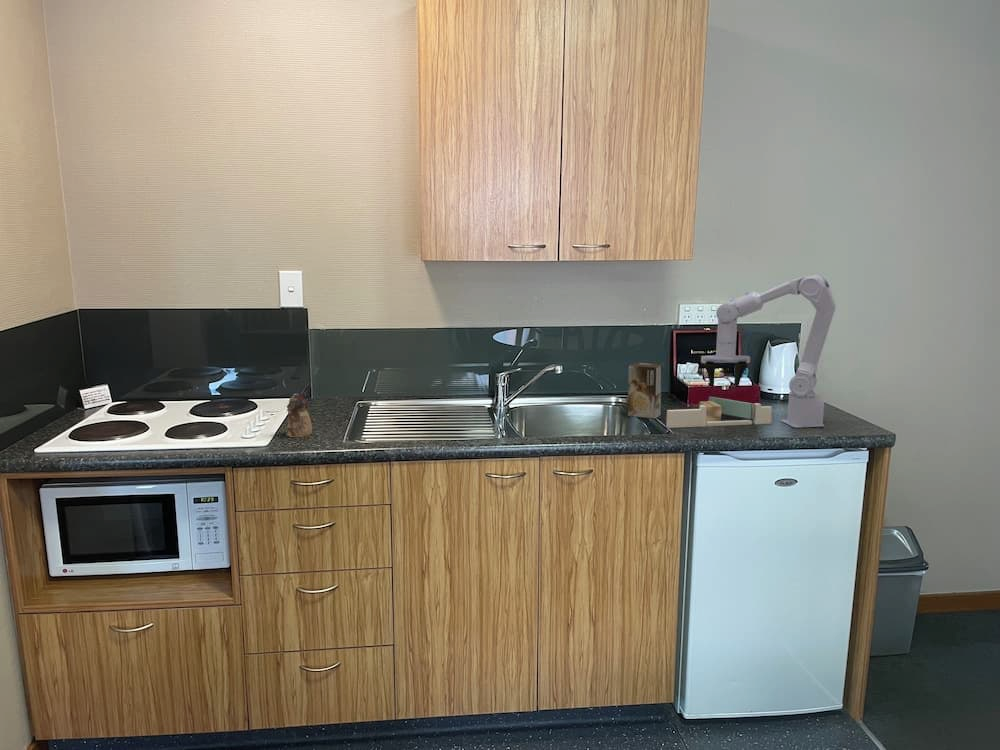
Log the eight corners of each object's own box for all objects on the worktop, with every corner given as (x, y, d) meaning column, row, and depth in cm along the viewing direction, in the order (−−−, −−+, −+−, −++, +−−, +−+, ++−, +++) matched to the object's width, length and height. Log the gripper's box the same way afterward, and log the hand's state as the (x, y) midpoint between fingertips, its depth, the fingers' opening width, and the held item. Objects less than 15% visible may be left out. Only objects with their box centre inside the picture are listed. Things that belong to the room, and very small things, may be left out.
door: (754, 418, 232) (755, 404, 231) (753, 419, 231) (754, 404, 230) (709, 410, 242) (710, 396, 241) (708, 411, 241) (708, 396, 240)
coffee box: (661, 414, 243) (663, 364, 240) (655, 419, 238) (657, 367, 234) (633, 411, 247) (634, 361, 244) (626, 416, 242) (628, 365, 239)
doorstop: (711, 416, 241) (711, 401, 240) (720, 422, 234) (721, 406, 233) (698, 417, 240) (699, 401, 239) (708, 422, 233) (708, 406, 232)
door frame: (768, 422, 234) (769, 402, 232) (771, 423, 232) (772, 404, 231) (666, 426, 229) (666, 406, 228) (668, 428, 227) (669, 408, 226)
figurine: (285, 432, 224) (283, 391, 221) (310, 430, 226) (308, 389, 224) (287, 438, 217) (285, 396, 215) (313, 436, 220) (311, 394, 217)
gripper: (706, 344, 234) (704, 388, 236) (754, 344, 234) (751, 388, 236) (700, 340, 240) (698, 383, 243) (746, 340, 241) (744, 383, 243)
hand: (724, 385), depth 240 cm, fingers open, 7 cm apart
